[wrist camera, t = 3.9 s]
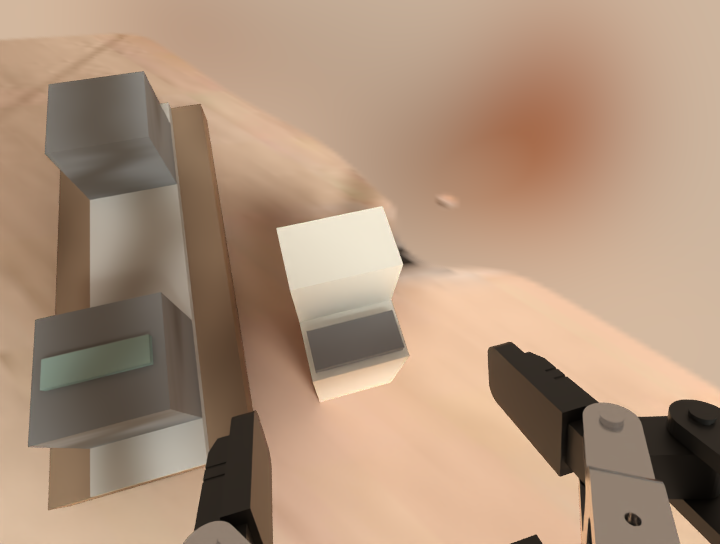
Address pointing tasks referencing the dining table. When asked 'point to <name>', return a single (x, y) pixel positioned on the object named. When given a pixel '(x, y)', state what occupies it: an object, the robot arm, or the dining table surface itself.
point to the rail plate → (133, 295)
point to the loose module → (346, 299)
